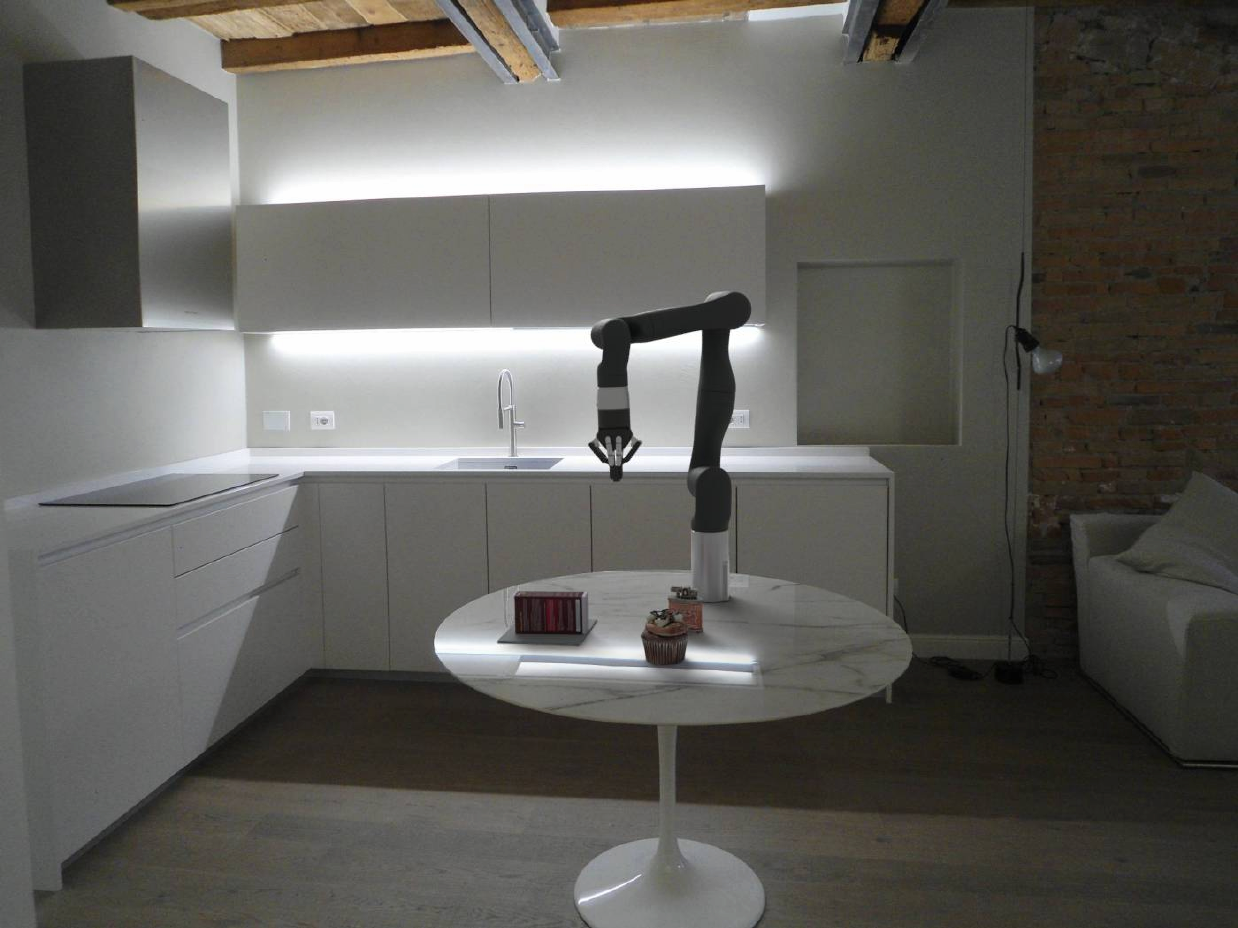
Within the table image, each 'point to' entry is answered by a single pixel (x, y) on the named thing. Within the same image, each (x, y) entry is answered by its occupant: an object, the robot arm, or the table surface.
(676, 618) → the cupcake
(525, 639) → the mat
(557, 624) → the supplement box
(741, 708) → the table surface
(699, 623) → the lighter
